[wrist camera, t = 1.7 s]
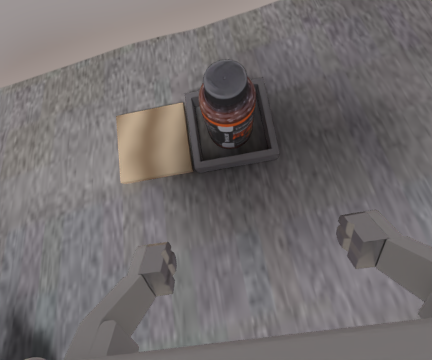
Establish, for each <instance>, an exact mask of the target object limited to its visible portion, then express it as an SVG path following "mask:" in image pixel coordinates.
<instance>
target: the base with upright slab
mask: <svg viewBox="0 0 432 360" xmlns="http://www.w3.org/2000/svg"><path fill="white" fill-rule="evenodd" d="M25 360H46V359H44V358H40V357H32V358H28V359H25Z"/></svg>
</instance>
